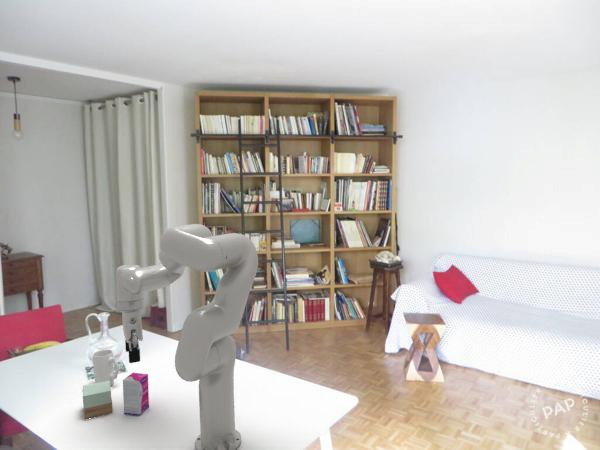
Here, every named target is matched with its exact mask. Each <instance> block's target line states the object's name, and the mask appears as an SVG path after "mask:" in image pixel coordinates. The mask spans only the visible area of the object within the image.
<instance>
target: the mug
mask: <svg viewBox="0 0 600 450" xmlns="http://www.w3.org/2000/svg"><path fill="white" fill-rule="evenodd" d="M92 366H93V376H94V383H99V382H104V381H109V380H110V387H111V386H113V385H114V383H115V380H117V378H118V375H119V371H120V369H119V363H118V361H117V358H116V357H114V351H113V350H112V349H108V348H107V349H106V348H105V349H100V350H97V351H94V352H93V353H92ZM114 367H115V370H114ZM114 371H115V372H114Z"/></svg>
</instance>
